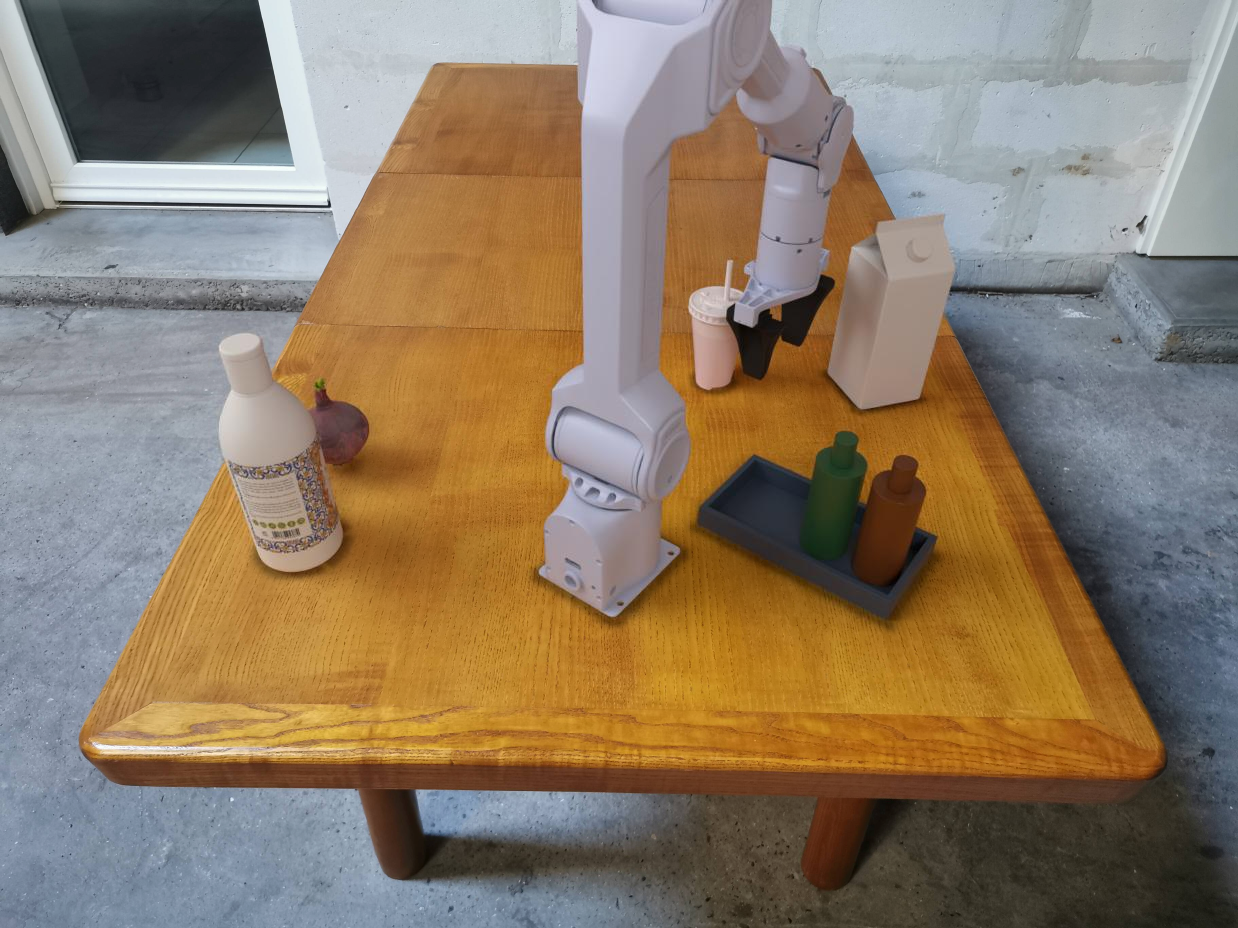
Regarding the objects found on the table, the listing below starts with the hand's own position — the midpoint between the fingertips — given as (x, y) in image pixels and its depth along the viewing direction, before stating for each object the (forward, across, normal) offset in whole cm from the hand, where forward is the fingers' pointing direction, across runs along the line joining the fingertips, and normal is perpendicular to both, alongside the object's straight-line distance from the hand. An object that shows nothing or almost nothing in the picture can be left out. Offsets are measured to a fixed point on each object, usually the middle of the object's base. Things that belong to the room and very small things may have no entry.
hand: (773, 358), depth 88 cm
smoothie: (+6, 0, -7) cm, 9 cm away
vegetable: (+6, +34, -27) cm, 43 cm away
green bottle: (+5, +16, +14) cm, 22 cm away
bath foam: (+6, +43, -21) cm, 48 cm away
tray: (+5, +16, +13) cm, 21 cm away
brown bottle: (+5, +16, +19) cm, 25 cm away
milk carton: (+6, -10, +7) cm, 13 cm away
